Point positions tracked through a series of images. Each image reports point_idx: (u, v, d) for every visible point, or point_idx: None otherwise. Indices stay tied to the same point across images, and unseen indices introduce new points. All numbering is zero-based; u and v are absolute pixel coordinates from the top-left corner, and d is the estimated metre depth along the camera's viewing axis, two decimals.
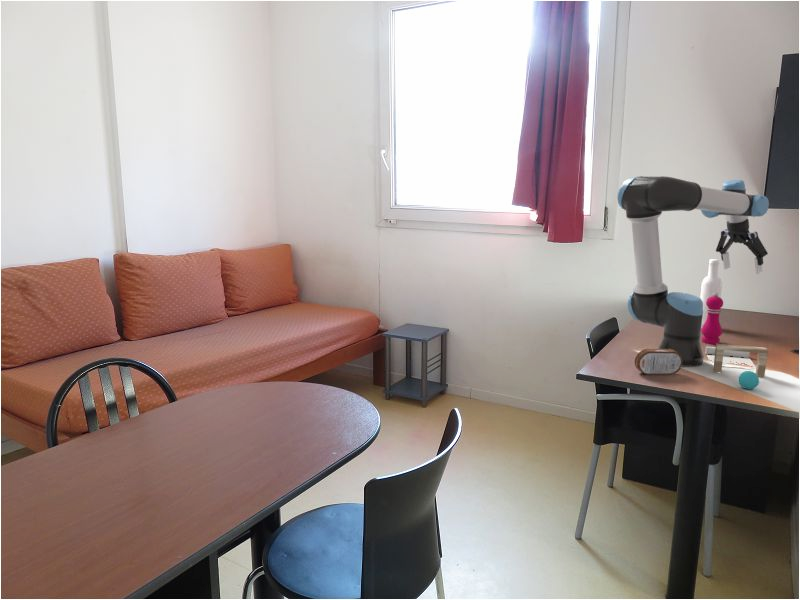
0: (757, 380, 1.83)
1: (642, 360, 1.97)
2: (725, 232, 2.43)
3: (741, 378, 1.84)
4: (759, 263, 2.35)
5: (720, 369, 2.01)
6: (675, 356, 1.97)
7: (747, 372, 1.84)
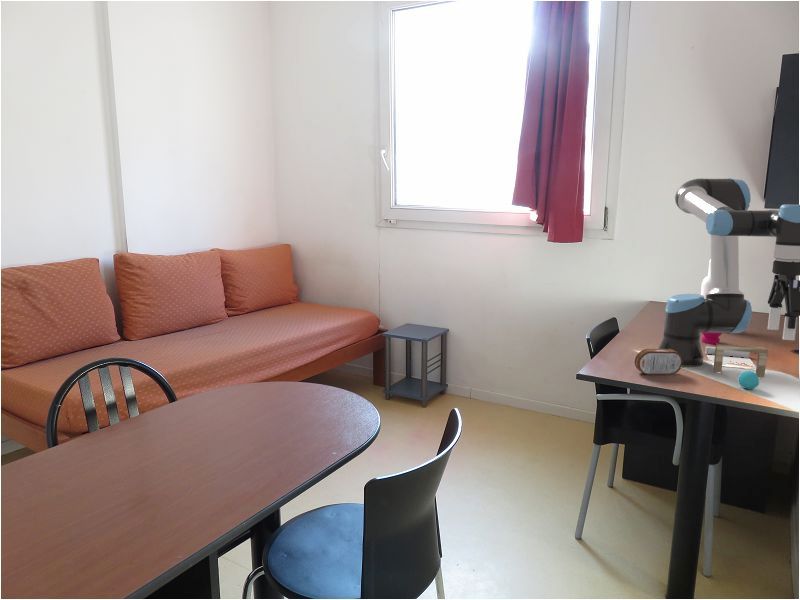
0: (757, 380, 1.83)
1: (642, 360, 1.97)
2: (778, 277, 1.76)
3: (741, 378, 1.84)
4: (788, 325, 1.66)
5: (720, 369, 2.01)
6: (675, 356, 1.97)
7: (747, 372, 1.84)
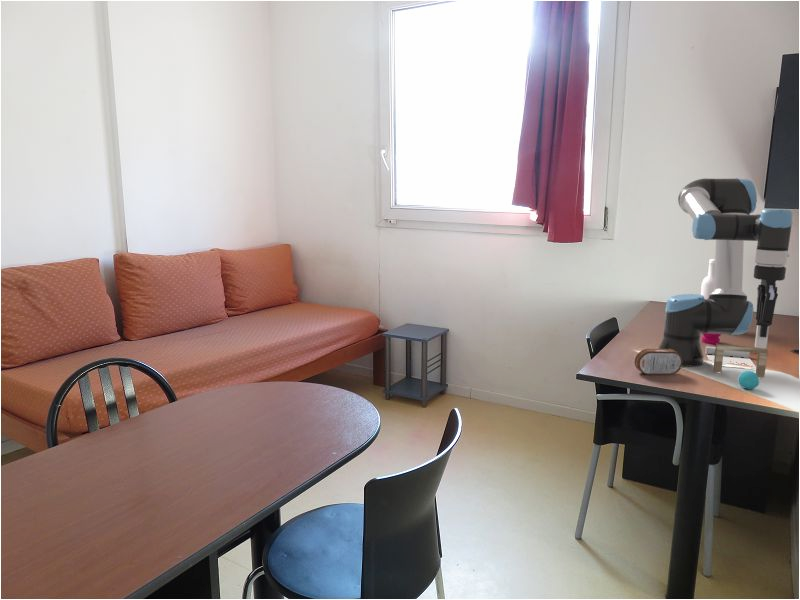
0: (757, 380, 1.83)
1: (642, 360, 1.97)
2: None
3: (741, 378, 1.84)
4: (760, 333, 1.72)
5: (720, 369, 2.01)
6: (675, 356, 1.97)
7: (747, 372, 1.84)
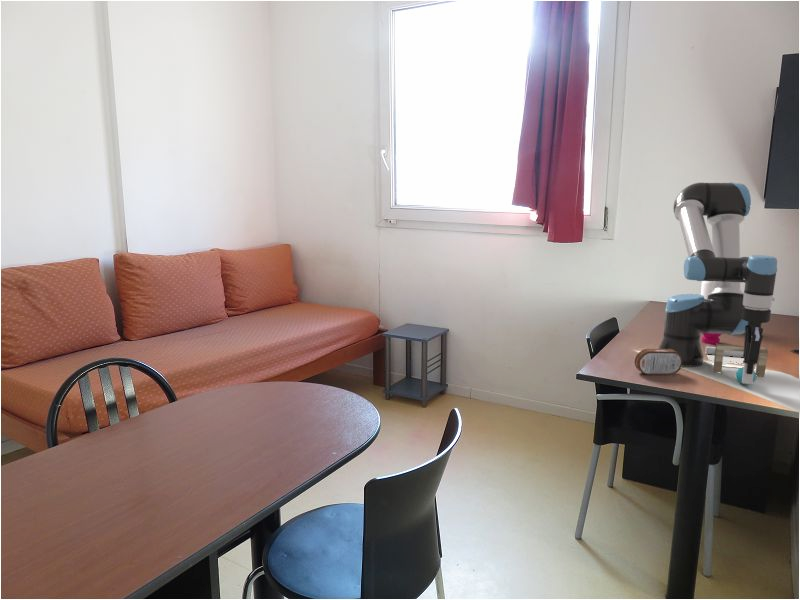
0: None
1: (642, 360, 1.97)
2: None
3: (738, 369, 1.90)
4: (746, 371, 1.85)
5: (720, 369, 2.01)
6: (675, 356, 1.97)
7: None
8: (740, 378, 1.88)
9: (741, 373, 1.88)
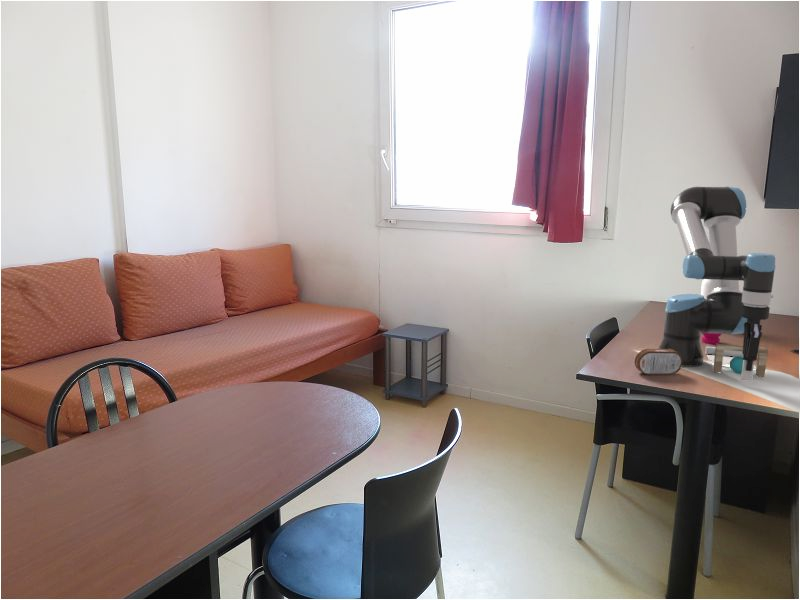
0: None
1: (642, 360, 1.97)
2: None
3: (732, 365, 2.00)
4: (746, 367, 1.86)
5: (720, 369, 2.01)
6: (675, 356, 1.97)
7: (738, 360, 1.99)
8: None
9: (733, 370, 2.01)
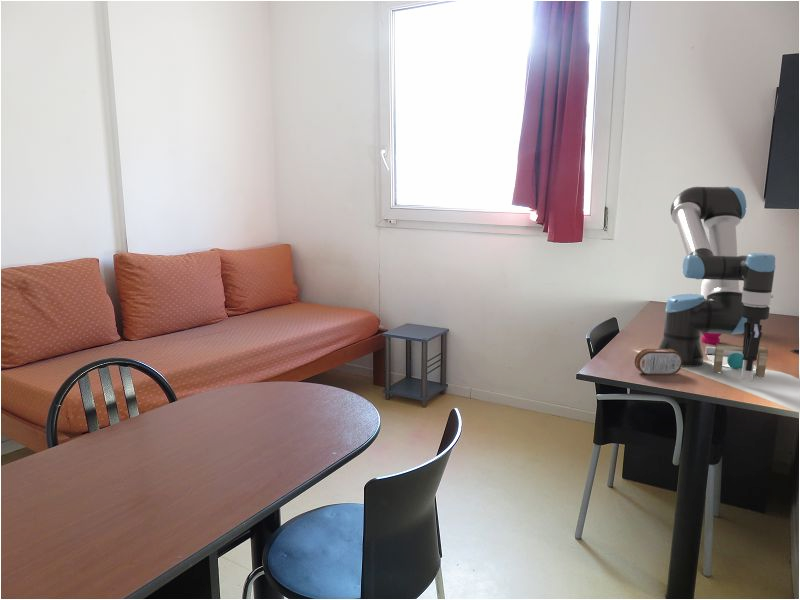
0: None
1: (642, 360, 1.97)
2: None
3: (729, 355, 2.06)
4: (746, 367, 1.86)
5: (720, 369, 2.01)
6: (675, 356, 1.97)
7: None
8: (731, 363, 2.04)
9: (732, 358, 2.04)
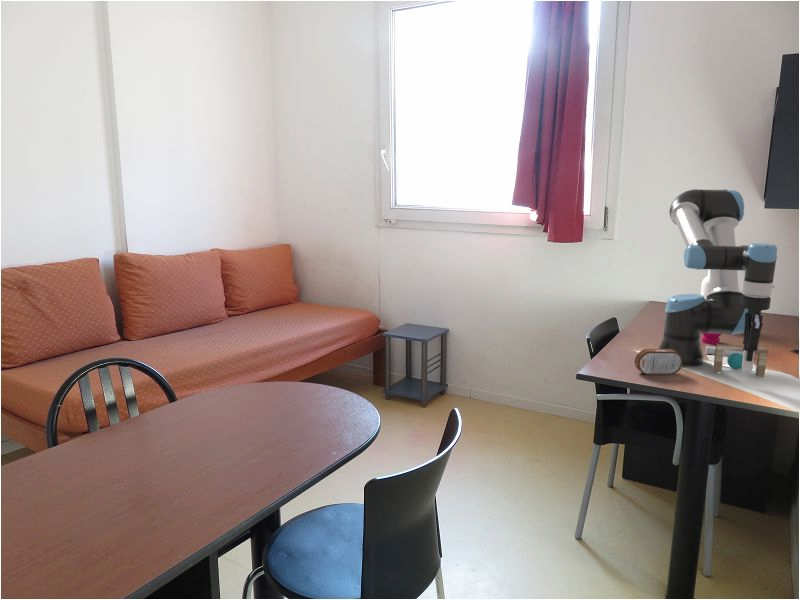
0: None
1: (642, 360, 1.97)
2: None
3: (729, 355, 2.06)
4: (746, 358, 1.86)
5: (720, 369, 2.01)
6: (675, 356, 1.97)
7: None
8: (731, 363, 2.04)
9: (732, 358, 2.04)
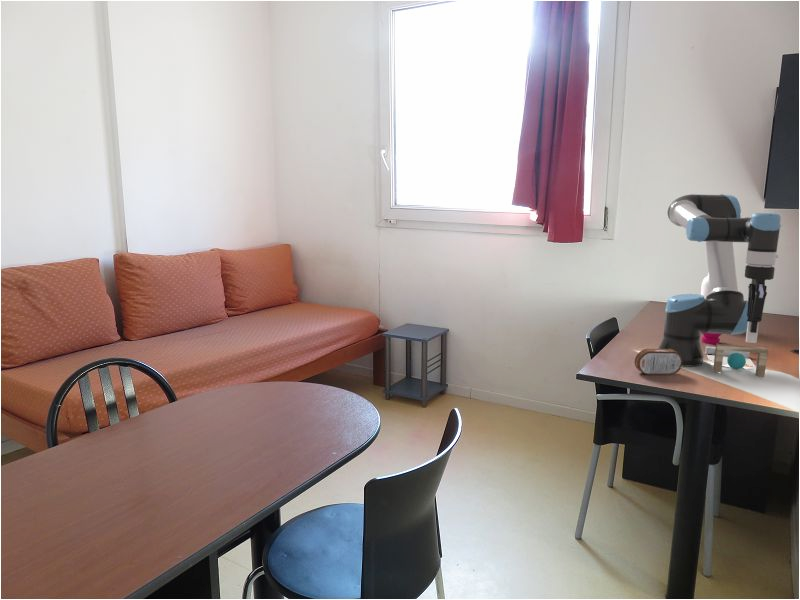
0: (743, 356, 2.05)
1: (642, 360, 1.97)
2: None
3: (729, 355, 2.06)
4: (750, 329, 1.84)
5: (720, 369, 2.01)
6: (675, 356, 1.97)
7: None
8: (731, 363, 2.04)
9: (732, 358, 2.04)
